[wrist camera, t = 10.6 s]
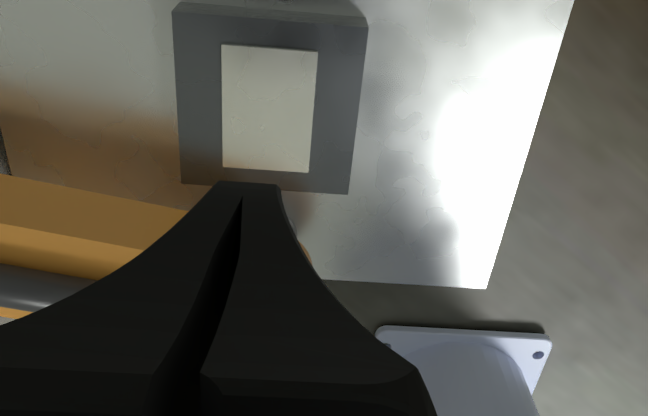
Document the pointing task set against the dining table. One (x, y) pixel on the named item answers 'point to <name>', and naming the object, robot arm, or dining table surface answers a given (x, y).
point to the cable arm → (68, 240)
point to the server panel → (293, 115)
